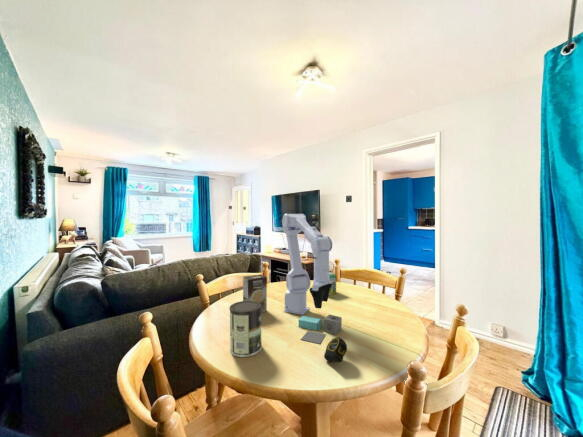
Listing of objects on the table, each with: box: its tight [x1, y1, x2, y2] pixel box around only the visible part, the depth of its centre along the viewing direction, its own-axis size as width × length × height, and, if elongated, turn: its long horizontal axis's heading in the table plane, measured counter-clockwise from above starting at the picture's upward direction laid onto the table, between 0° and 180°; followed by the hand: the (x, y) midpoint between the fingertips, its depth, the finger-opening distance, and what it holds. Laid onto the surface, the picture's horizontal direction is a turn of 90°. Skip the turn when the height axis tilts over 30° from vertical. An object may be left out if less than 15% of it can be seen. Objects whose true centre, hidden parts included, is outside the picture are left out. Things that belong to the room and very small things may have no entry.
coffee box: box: [242, 274, 268, 313], centre depth 111 cm, size 9×6×16 cm
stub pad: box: [300, 330, 327, 345], centre depth 87 cm, size 7×7×1 cm
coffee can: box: [228, 300, 263, 358], centre depth 80 cm, size 10×10×14 cm
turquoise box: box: [298, 315, 323, 332], centre depth 95 cm, size 8×4×3 cm, turn 66°
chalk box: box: [329, 271, 337, 296], centre depth 134 cm, size 9×9×15 cm
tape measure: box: [323, 336, 348, 363], centre depth 73 cm, size 7×7×4 cm
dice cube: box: [323, 313, 343, 336], centre depth 92 cm, size 5×5×5 cm
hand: (321, 304), depth 93 cm, fingers open, 7 cm apart
